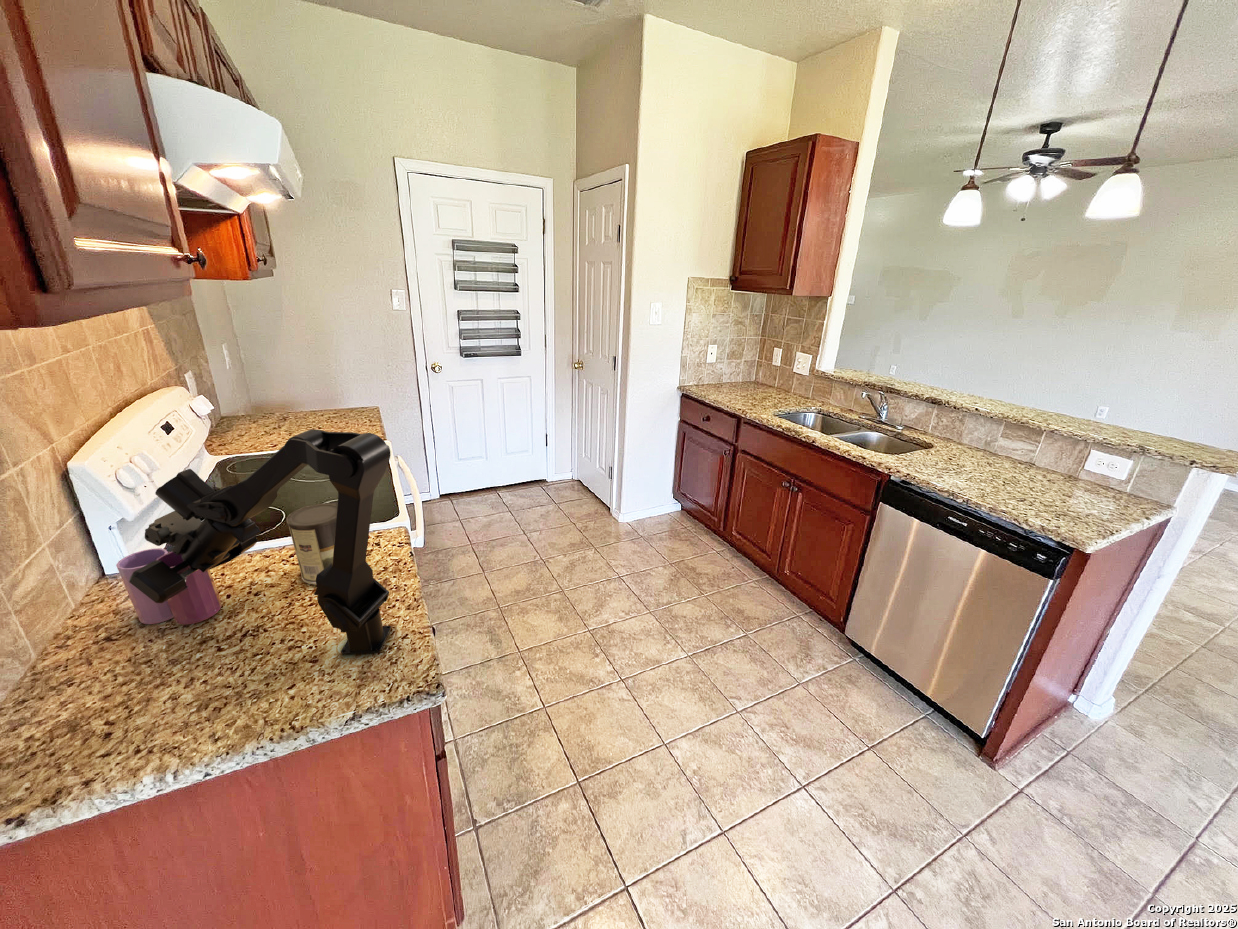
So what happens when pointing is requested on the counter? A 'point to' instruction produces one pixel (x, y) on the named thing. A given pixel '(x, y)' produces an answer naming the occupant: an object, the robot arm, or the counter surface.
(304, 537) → the coffee can
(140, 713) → the counter surface
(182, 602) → the plum cup
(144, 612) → the lavender cup
